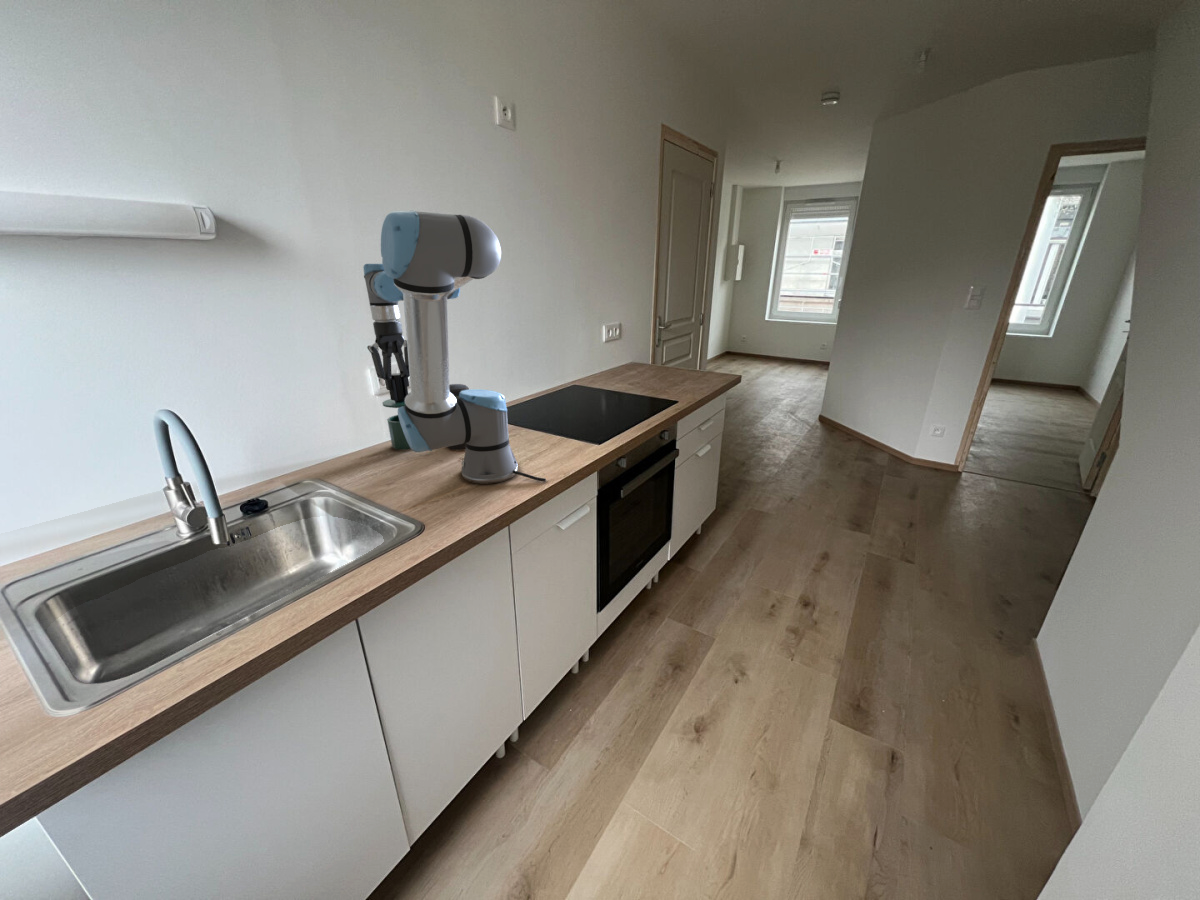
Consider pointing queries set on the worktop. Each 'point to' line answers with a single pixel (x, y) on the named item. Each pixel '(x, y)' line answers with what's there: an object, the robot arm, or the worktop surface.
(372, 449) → the worktop surface
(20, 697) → the worktop surface
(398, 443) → the tin
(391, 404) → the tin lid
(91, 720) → the worktop surface
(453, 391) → the container
